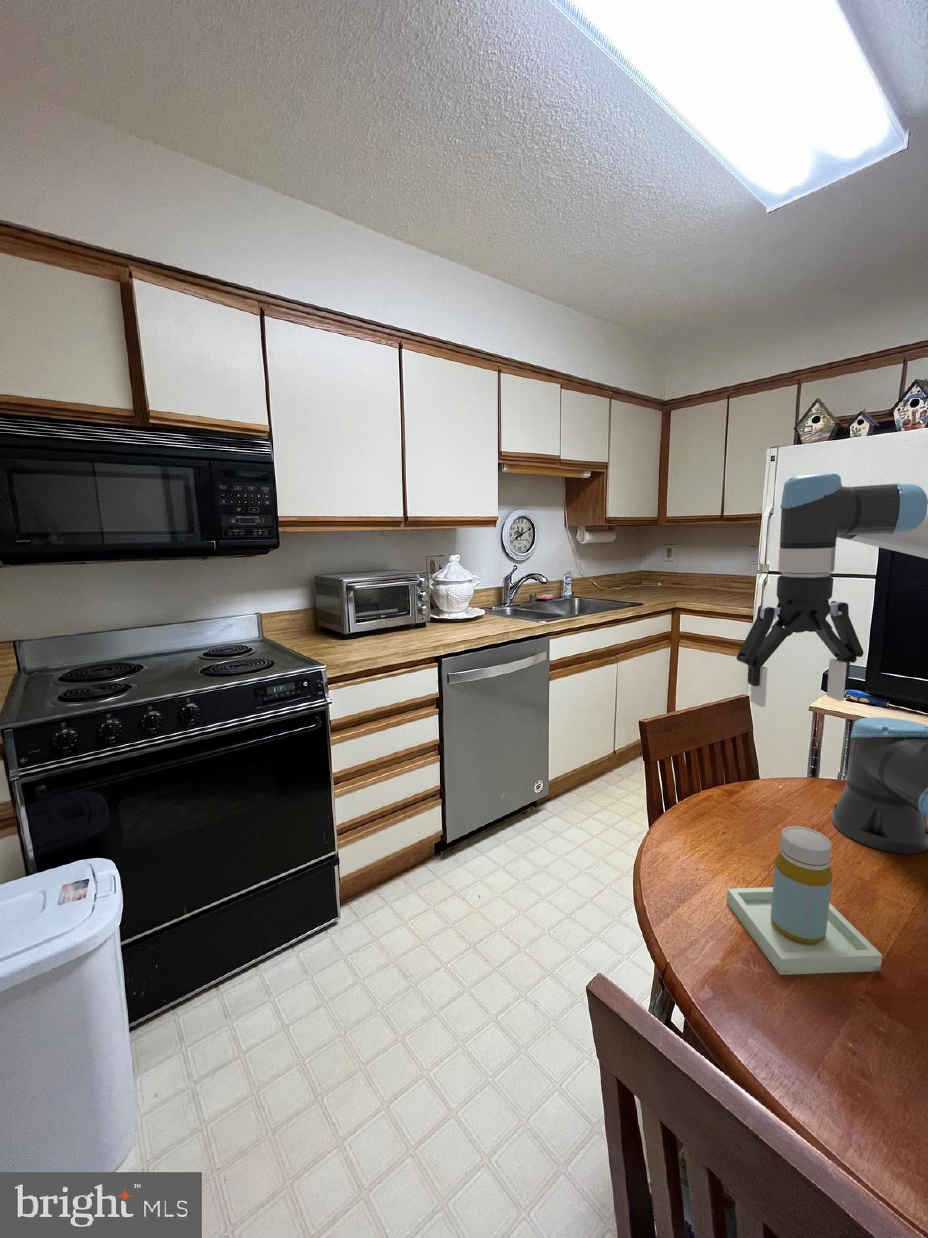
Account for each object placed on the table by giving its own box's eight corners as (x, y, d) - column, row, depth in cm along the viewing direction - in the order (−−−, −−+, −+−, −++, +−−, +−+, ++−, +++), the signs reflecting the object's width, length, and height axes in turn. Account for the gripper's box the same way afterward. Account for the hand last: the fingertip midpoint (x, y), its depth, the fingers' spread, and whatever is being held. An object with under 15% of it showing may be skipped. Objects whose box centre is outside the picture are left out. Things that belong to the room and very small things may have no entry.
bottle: (834, 950, 74) (845, 855, 71) (780, 943, 75) (788, 849, 73) (812, 915, 81) (822, 827, 78) (763, 909, 82) (771, 822, 79)
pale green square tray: (810, 899, 85) (812, 885, 85) (880, 971, 71) (882, 955, 71) (726, 902, 85) (727, 888, 84) (779, 975, 71) (781, 959, 71)
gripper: (859, 568, 87) (848, 689, 91) (717, 576, 86) (712, 699, 89) (899, 572, 80) (886, 703, 84) (744, 580, 78) (738, 714, 82)
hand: (796, 701), depth 86 cm, fingers open, 13 cm apart
